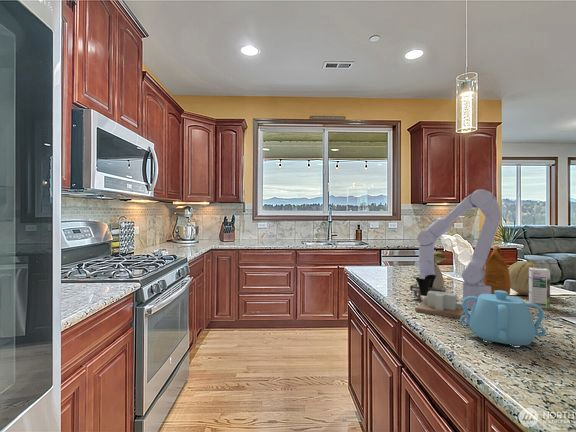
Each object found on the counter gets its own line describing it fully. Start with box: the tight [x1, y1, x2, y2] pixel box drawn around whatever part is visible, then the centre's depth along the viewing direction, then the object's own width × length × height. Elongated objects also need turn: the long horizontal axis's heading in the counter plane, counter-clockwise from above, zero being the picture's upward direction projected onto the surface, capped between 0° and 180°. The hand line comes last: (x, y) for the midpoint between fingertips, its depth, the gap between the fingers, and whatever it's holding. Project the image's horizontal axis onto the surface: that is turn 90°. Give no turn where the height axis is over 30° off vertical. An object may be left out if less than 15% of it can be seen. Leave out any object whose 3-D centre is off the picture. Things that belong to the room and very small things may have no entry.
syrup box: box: [528, 267, 551, 309], centre depth 125 cm, size 6×6×14 cm
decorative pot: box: [459, 290, 547, 347], centre depth 92 cm, size 16×16×14 cm
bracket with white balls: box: [409, 283, 446, 300], centre depth 135 cm, size 8×12×5 cm, turn 54°
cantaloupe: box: [508, 260, 542, 296], centre depth 143 cm, size 15×15×15 cm
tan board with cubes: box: [414, 290, 465, 319], centre depth 118 cm, size 12×15×6 cm
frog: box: [432, 250, 453, 293], centre depth 148 cm, size 12×13×18 cm
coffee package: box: [482, 245, 511, 296], centre depth 133 cm, size 10×12×22 cm
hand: (426, 293), depth 133 cm, fingers open, 6 cm apart
